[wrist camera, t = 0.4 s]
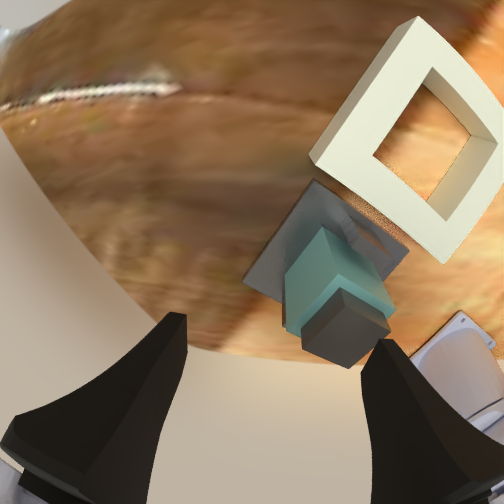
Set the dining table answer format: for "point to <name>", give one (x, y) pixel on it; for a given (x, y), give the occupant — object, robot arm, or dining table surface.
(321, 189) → the grey socket plate
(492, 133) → the port
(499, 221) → the dining table surface
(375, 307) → the plug
